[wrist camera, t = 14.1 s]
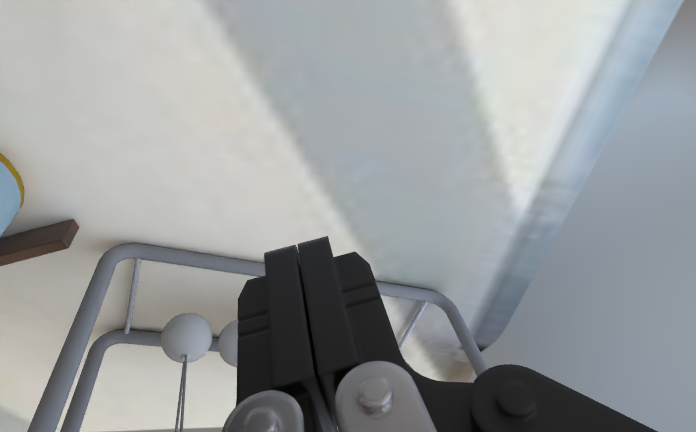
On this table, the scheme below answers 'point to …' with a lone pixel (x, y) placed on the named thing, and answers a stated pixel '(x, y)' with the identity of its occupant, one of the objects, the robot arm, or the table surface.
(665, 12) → the table surface
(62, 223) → the bay
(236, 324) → the newton's cradle
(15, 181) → the bottle
